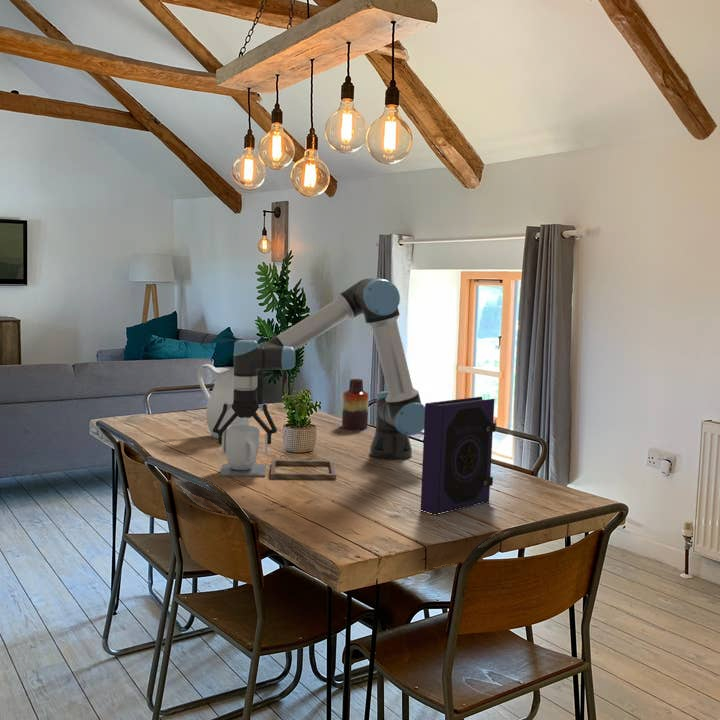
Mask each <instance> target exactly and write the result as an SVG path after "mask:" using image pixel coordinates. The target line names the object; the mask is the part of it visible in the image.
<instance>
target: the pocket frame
mask: <svg viewBox="0 0 720 720" xmlns="http://www.w3.org/2000/svg"><path fill="white" fill-rule="evenodd" d="M276 466H301V467H302V466H304V467H305V466H308V467H309V466H310V467H311V466H312V467H313V466H314V467H315V466H317V467H329V471H330V473H307V472H306V473H304V472H303V473H301V472H300V473H298V472H297V473H296V472H294V473H292V472H290V473H289V472H276ZM276 479H277V480H282V479H283V480H337V472H336V468H335V462H334V460H316V459H315V460H313V459H312V460H311V459H310V460H309V459H308V460H306V459H304V460H303V459H302V460H301V459H300V460H298V459H295V460H293V459H272V460H271V467H270V480H276Z"/></svg>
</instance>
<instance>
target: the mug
mask: <svg viewBox="0 0 720 720" xmlns="http://www.w3.org/2000/svg"><path fill="white" fill-rule="evenodd" d="M260 435H261V429H260V428H259V427H257V426H255V425H250V424H249V425H230V426H228V427H227V428H226V430H225V454H224V455H225V458H226V461H227V464H229V466H230V468H232V469H234V470H249V469H251V467H252V466H253V464H256V461H257V457H258V453H259V447H260Z"/></svg>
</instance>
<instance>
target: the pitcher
mask: <svg viewBox="0 0 720 720" xmlns="http://www.w3.org/2000/svg"><path fill="white" fill-rule="evenodd" d="M206 369H208V370H210V371H211V373H212V374H213V376H214V379H215V382H214V386H213V388H212V390H211V393H209V391H208V389H207V387H206V386H205V385H206V384H205V383H204V379H203V378H204V377H203V373H204V371H205V370H206ZM196 373H197V374H196V378H197V381H198V385H199V386H200V389H201V391H202V393H203V394H204V396H205V397H206V401H207V404H206V411H205V419H206V420H205V422H206V425H207V428H208V430H209V432H210V435H212V437H213V438H214V439H217V440H218V433H215V432H213V428H214V427H215V425H216V423H217V421H218V419H219V417H220V415H221V413H222V411H223V405H224V403H227V404H233V391H234V389H235V388H234V367H233V368H226V367H215V366H214V365H212V364H209V363H206V364H203V365H201V366H200V367H199V368H198V370H197V372H196ZM234 413H235V412H234V410H233V409H232V408H230V409H229V411H227V412H226V414H225V416H224V418H223V419H222V421H221V423H220V425H219V427H218V429H221V428H222V427H223V425H224V424H225V423H226V422H227V421H228V420H229V419H230V418H231V416H232V415H233V414H234ZM250 422H251V417H250V418H246V417H244V418H240V417H238V416H237V417H236V418H235V419H234V421H233V422H232V423H231V424H230V425H249V426H250ZM230 425H229V426H230ZM223 433H225V431H224V432H223Z"/></svg>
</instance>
